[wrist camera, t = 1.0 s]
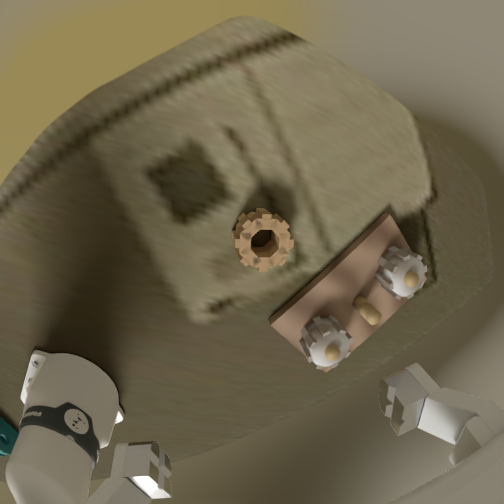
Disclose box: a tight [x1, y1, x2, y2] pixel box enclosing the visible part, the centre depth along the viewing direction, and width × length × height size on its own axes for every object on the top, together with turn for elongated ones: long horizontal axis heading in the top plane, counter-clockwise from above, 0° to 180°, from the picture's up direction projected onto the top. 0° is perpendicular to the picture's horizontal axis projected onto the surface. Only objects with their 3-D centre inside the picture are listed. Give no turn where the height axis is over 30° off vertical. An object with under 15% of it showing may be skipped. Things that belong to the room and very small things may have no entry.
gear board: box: [268, 212, 427, 373], centre depth 40 cm, size 22×14×6 cm, turn 132°
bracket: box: [0, 417, 19, 457], centre depth 40 cm, size 18×7×8 cm, turn 30°
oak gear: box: [231, 208, 294, 272], centre depth 36 cm, size 7×7×4 cm
